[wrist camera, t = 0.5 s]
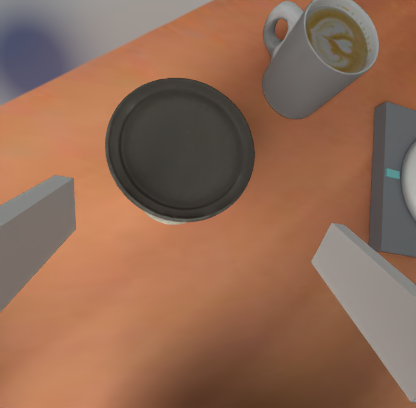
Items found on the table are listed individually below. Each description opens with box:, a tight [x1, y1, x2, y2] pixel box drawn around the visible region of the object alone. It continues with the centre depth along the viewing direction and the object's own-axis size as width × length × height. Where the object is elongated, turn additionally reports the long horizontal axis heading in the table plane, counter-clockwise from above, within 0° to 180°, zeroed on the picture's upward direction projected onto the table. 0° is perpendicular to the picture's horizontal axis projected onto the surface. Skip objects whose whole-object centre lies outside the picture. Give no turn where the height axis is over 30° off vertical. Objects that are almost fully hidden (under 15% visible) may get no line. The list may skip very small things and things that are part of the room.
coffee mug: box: [262, 0, 379, 119], centre depth 29 cm, size 13×10×10 cm
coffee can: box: [105, 78, 255, 225], centre depth 22 cm, size 10×10×14 cm
